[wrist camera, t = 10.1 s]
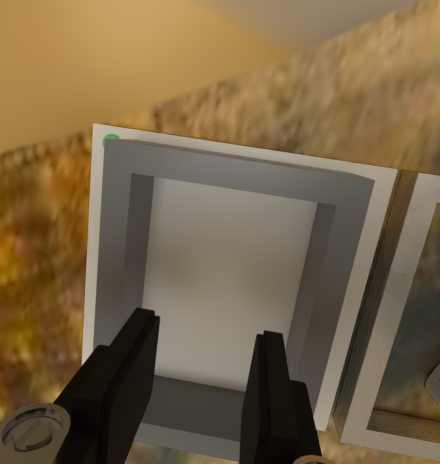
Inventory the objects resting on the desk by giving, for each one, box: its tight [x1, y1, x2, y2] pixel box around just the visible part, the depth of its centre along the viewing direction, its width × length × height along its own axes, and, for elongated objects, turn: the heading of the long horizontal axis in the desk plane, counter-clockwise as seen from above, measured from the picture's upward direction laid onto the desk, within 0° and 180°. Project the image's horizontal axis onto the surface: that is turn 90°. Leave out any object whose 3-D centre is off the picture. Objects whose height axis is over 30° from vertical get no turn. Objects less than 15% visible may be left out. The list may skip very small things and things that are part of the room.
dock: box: [82, 124, 398, 462], centre depth 15 cm, size 13×13×4 cm
